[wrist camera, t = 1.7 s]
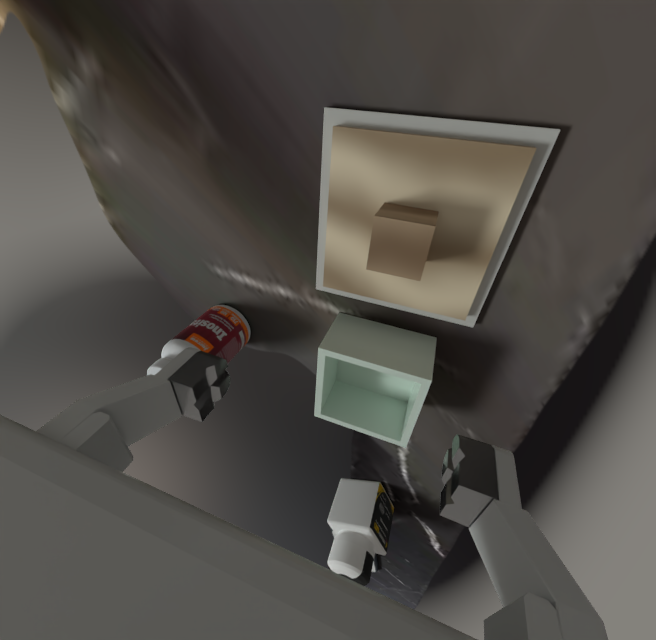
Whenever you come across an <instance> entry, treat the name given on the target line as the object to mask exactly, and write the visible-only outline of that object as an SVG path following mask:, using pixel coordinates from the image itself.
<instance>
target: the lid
mask: <svg viewBox="0 0 656 640" xmlns="http://www.w3.org/2000/svg"><path fill="white" fill-rule="evenodd" d="M536 149H537V148H536V147H532V146H523V145H514V144H504V143H495V142H486V141H477V140H467V139H458V138H449V137H439V136H430V135H421V134H411V133H402V132H393V131H384V130H374V129H365V128H356V127H346V126H337V125H336V126H333V132H332V148H331V164H330V180H329V196H328V212H327V229H326V245H325V261H324V277H323V287H328V288H332V289H336V290H340V291H344V292H348V293H352V294H357V295H361V296H365V297H369V298H373V299H377V300H381V301H386V302H390V303H394V304H398V305H402V306H406V307H410V308H415V309H419V310H423V311H427V312H431V313H435V314H439V315H444V316H448V317H452V318H456V319H460V320H464V321H465V320H466V317H467V315H468V312H469V310H470V308H471V305H472V303H473V300H474V298H475V296H476V293H477V291H478V288H479V286H480V284H481V281H482V279H483V276H484V274H485V271H486V269H487V267H488V264H489V262H490V259H491V257H492V255H493V252H494V250H495V247H496V245H497V243H498V240H499V238H500V235H501V233H502V230H503V228H504V226H505V223H506V221H507V218H508V216H509V214H510V211H511V209H512V206H513V204H514V202H515V199H516V197H517V194H518V192H519V190H520V187H521V185H522V182H523V180H524V177H525V175H526V173H527V170H528V168H529V165H530V163H531V161H532V158H533V156H534V153H535V151H536Z"/></svg>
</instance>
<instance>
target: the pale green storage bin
mask: <svg viewBox="0 0 656 640" xmlns="http://www.w3.org/2000/svg"><path fill="white" fill-rule="evenodd" d="M436 341H437V338H436V337H432V336H429V335H425V334H421V333H417V332H413V331H409V330H405V329H402V328H398V327H394V326H390V325H386V324H382V323H378V322H375V321H371V320H367V319H363V318H359V317H355V316H351V315H348V314H344V313H340V312H339V314H338V315H337V317H336V319H335V320H334V322H333V324H332V325H331V327H330V329H329V330H328V332H327V334H326V336H325V337H324V339H323V341H322V342H321V344H320V346H319V347H318V363H317V379H316V396H315V413H314V416H316V417H319V418H322V419H325V420H328V421H330V422H333V423H336V424H339V425H342V426H345V427H347V428H350V429H353V430H356V431H359V432H362V433H365V434H367V435H370V436H373V437H376V438H379V439H382V440H385V441H387V442H390V443H393V444H396V445H399V446H402V447H405V448H406V446H407V443H408V441H409V438H410V436H411V433H412V431H413V428H414V426H415V423H416V420H417V418H418V415H419V413H420V410H421V408H422V405H423V403H424V400H425V398H426V395H427V392H428V390H429V387H430V385H431V382H432V377H433V368H434V359H435V350H436Z"/></svg>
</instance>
